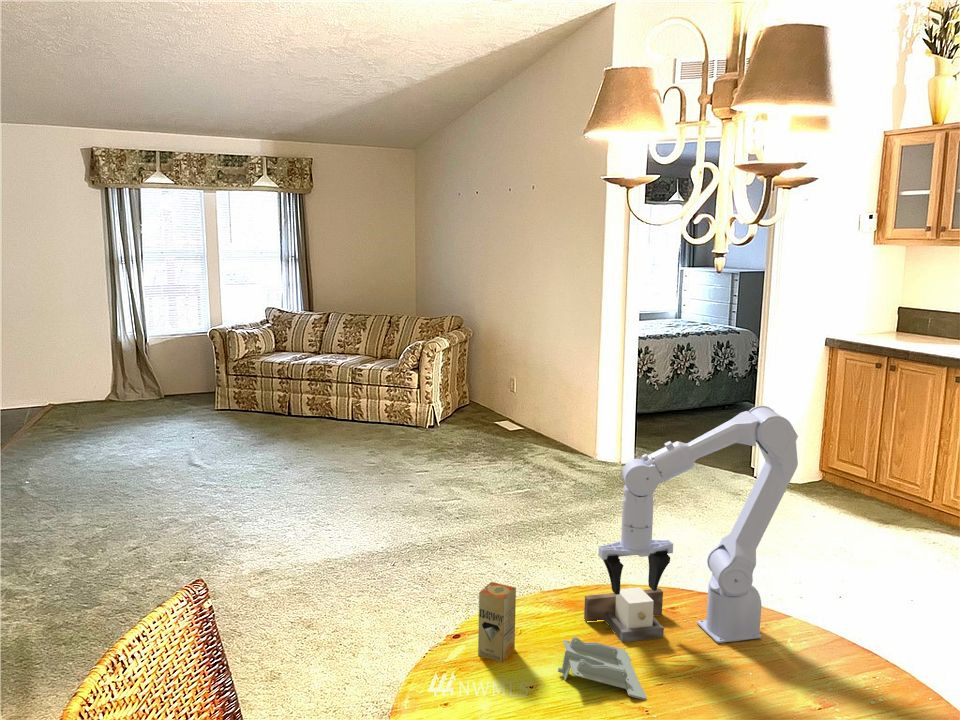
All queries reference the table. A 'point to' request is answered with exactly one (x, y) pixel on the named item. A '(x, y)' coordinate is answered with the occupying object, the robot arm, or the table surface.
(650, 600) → the cabinet block
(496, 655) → the shoe polish box
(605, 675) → the metal bracket
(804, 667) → the table surface
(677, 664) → the table surface
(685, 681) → the table surface
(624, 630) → the board
